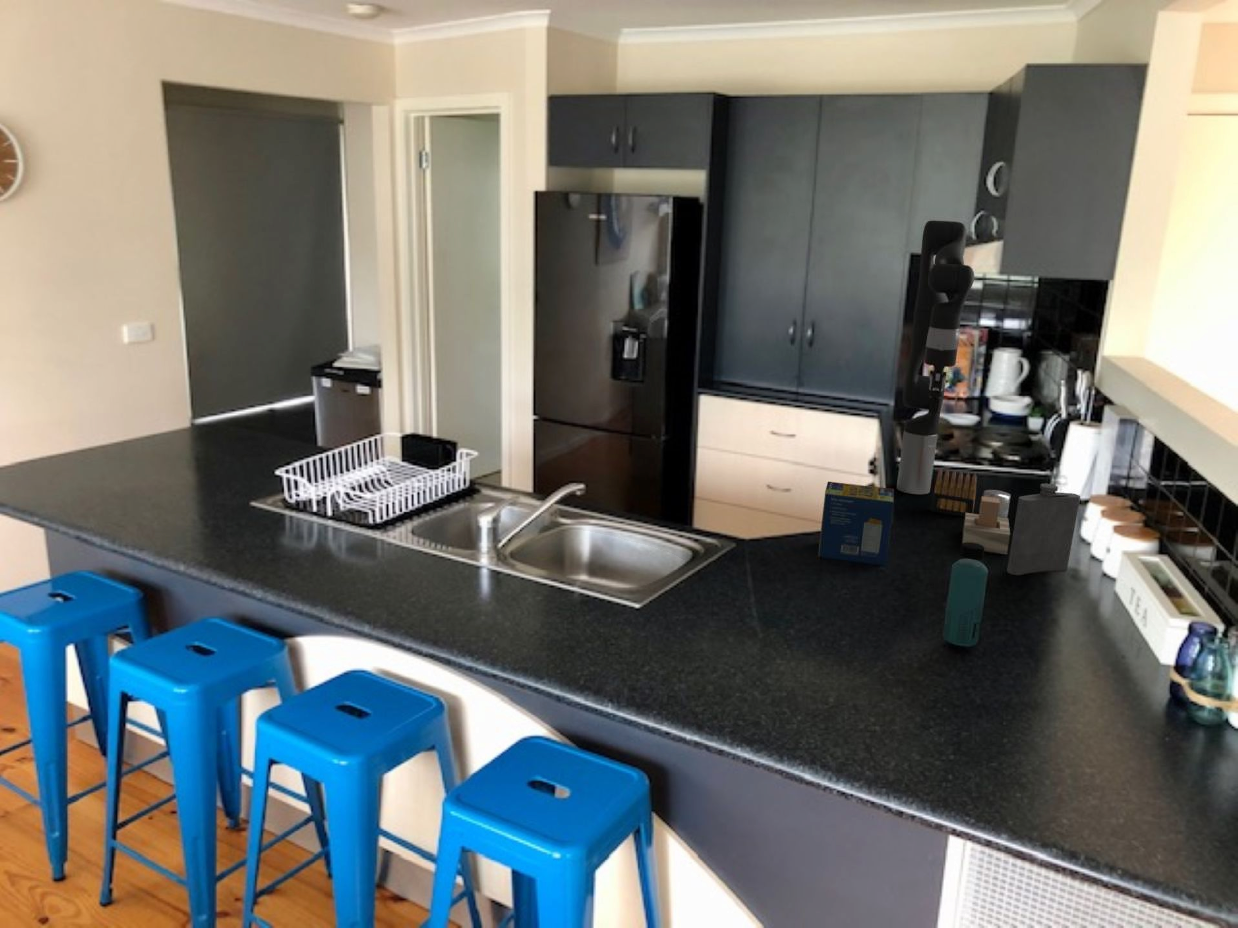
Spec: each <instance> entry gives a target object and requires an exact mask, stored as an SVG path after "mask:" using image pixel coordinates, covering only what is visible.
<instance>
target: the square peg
mask: <svg viewBox="0 0 1238 928" xmlns="http://www.w3.org/2000/svg"><path fill="white" fill-rule="evenodd" d="M980 498H981V499H980V505H979V512H978V515H979V517H978V524H977V525H978V526H985V527H992V528H996V524H997V518H998V511H999V505H1000V501H999V498H991V497H983V495H981V497H980Z"/></svg>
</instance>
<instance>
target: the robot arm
mask: <svg viewBox="0 0 1238 928" xmlns="http://www.w3.org/2000/svg"><path fill="white" fill-rule="evenodd" d="M921 238H922V240H921V248H920V249H921V252H920V263H919V264H920V265H919V278H918V286H917V291H916V292H917V294H916V299H915V305H914V313H913V318H912V319H913V320H912V321H913V322H912V330H911V331H912V332H911V341H910V351H909V357H908V362H907V368H906V374H905V378H904V385H903V390H902V403H903V406H905V408H914V409H922V410H923V409H924V410H928V412H926V413H925V414H923V415H921V416H917V417H914V418H913V417H912V418H909V419H907V420H906V421H905V422H904V425H903V433H902V434H903V435H902V442H901V443H902V444H901V450H900V459H899V465H898V466H899V467H898V475H897V481H896V482H897V483H896V490H898V491H900V492H903V493H906V494H911V495H927V494H929V493H930V492H931V485H932V479H933V472H934V464H935V457H936V449H937V441H938V433H939V427H940V426H939V425H940V417H941V416H940V415H941V412H942V406H943V401H944V397H945V389H946V383H945V382H946V379H947V374H948V373H947V371H945V368H946V367H947V368H951V367H954V366H956V363H957V355H958V349H959V342H960V341H959V340H960V326H961V320H962V312H963V308H964V306H965V303H966V300H967V298H968V295H969V293H970V292H971V290H972V287H973V285H974V282H975V272H974V269H973V267H971V266H970V265H968V264H965V261H964V255H965V251H966V244H967V243H966V242H967V230H966V226H965V224H964V223H963V222H960V221H953V220H952V221H951V220H950V221H949V220H928V221H927V222H926V223H925V225H924V227H923V231H922V237H921ZM933 257H934V258H933ZM947 294H951V295H955V296H954V298H952V299H951V300H949V298H948V296H947ZM923 362H924V364H925V365H927V366H933V370H930V371H929V375H919V374H918V373H919V370H920V369H921V366H922V364H923Z"/></svg>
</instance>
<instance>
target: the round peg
mask: <svg viewBox="0 0 1238 928" xmlns="http://www.w3.org/2000/svg"><path fill="white" fill-rule="evenodd" d="M982 496H983V497H991V498H999V501H1000V505H999V511H998V517H1000V518H1007V519H1008V515H1009V509H1010V502H1011V496H1012V495H1011V494H1010V493H1008V492H1005V491H1002V490H997V489H986V490H984V491H983V495H982Z"/></svg>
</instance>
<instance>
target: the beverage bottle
mask: <svg viewBox="0 0 1238 928" xmlns="http://www.w3.org/2000/svg"><path fill="white" fill-rule="evenodd" d="M959 555H960V556H961V557H962V558H960V559H958V560H957V561H955V562H953V564H952V565H951V573H950V581H949V589H948V593H947V598H946V605H945V611H944V618H943V621H944V622H943V625H942V635H943V638H944V640H946V642H948V643H950V644H953V645H956V646H960V647H961V646H962V647H973V646H976V645H977V643H978V641H979V639H980V634H981V627H982V622H983V621H982V620H983V614H984V609H985V607H984V602H985V598H986V590H987V589H986V587H987V580H988V575H989V570H988V567H987V566H986V565H985V564H984V563H983V562H981V560H983V559H985V551H984V546H982V545H980V544H978V543H973V542H965V543H963V542H962V544H961V547H960V551H959ZM979 560H980V561H979Z"/></svg>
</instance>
